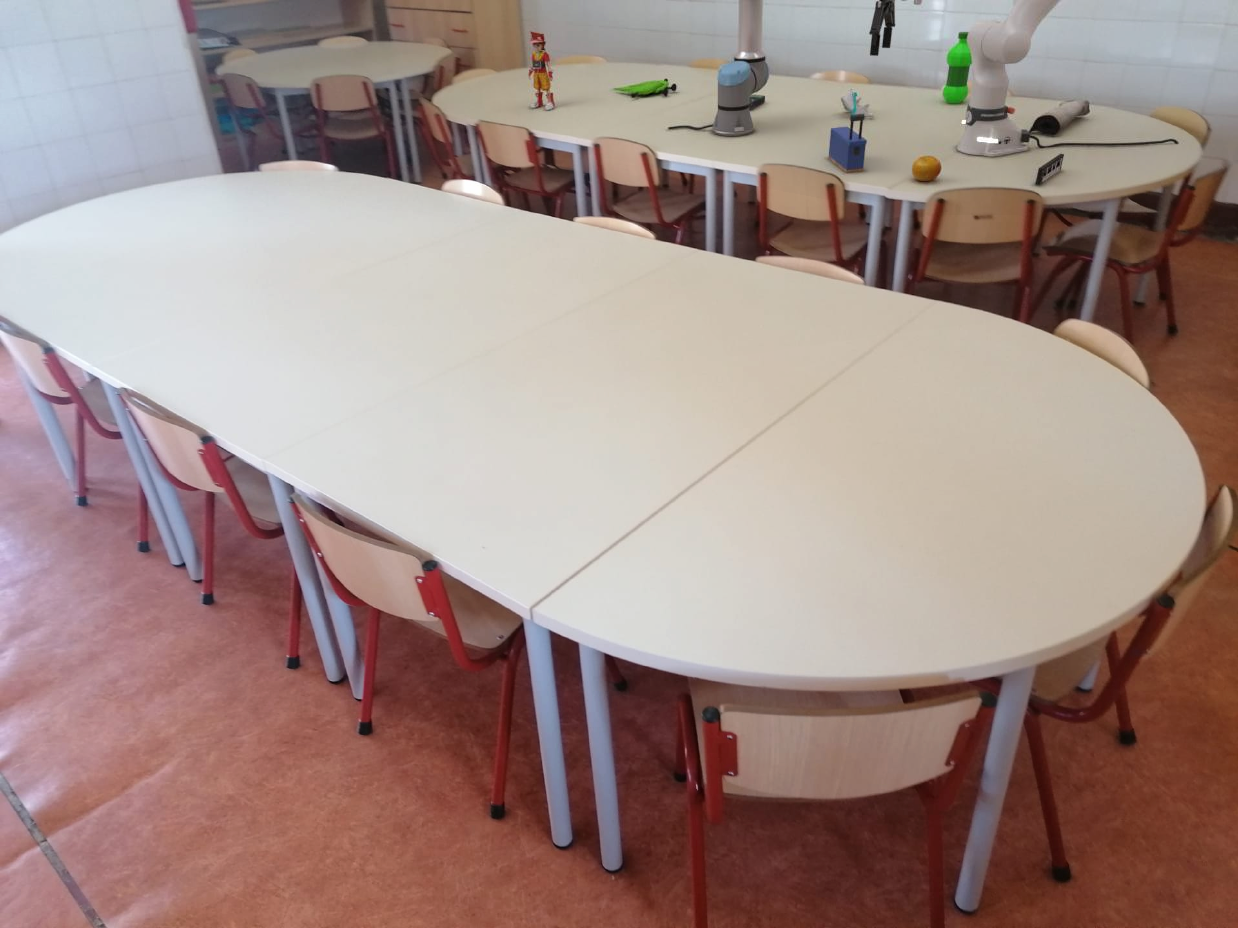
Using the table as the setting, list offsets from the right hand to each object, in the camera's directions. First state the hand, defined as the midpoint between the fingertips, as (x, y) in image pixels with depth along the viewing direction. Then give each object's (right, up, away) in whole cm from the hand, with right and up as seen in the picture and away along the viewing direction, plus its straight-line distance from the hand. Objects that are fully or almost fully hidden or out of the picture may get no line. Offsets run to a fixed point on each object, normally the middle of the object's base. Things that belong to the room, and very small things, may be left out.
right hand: (910, 2), depth 271 cm
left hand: (+2, +2, +37) cm, 37 cm away
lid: (-14, -34, +20) cm, 42 cm away
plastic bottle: (+44, +4, +84) cm, 95 cm away
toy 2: (-79, +25, +126) cm, 150 cm away
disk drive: (-36, +7, +96) cm, 103 cm away
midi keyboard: (+43, -52, +3) cm, 68 cm away
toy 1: (-121, +13, +112) cm, 165 cm away
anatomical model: (+3, -5, +75) cm, 75 cm away
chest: (-13, -41, +25) cm, 50 cm away
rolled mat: (+69, -19, +49) cm, 87 cm away
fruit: (+7, -51, +8) cm, 53 cm away
